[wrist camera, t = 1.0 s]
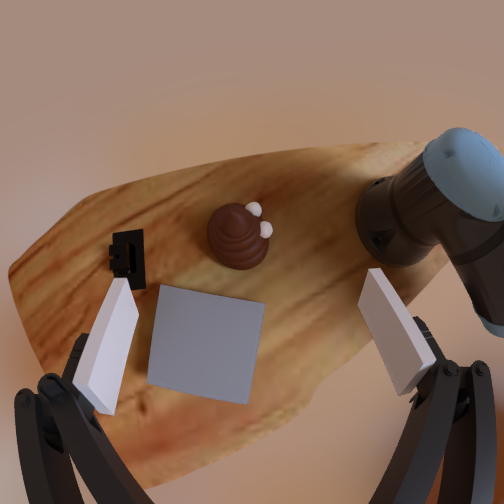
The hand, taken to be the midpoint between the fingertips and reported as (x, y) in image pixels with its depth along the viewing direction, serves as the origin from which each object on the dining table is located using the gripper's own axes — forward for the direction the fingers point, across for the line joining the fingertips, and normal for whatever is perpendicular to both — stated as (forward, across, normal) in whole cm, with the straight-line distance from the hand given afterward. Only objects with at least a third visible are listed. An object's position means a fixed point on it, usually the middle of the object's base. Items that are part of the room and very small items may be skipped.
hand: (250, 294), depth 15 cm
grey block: (+14, -5, -22) cm, 27 cm away
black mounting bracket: (+24, -17, -14) cm, 32 cm away
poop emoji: (+25, 0, -11) cm, 27 cm away
